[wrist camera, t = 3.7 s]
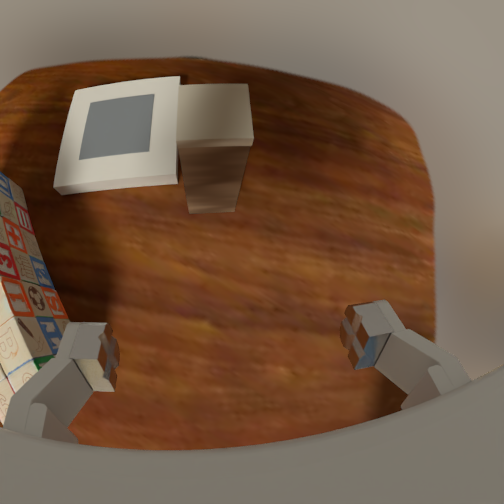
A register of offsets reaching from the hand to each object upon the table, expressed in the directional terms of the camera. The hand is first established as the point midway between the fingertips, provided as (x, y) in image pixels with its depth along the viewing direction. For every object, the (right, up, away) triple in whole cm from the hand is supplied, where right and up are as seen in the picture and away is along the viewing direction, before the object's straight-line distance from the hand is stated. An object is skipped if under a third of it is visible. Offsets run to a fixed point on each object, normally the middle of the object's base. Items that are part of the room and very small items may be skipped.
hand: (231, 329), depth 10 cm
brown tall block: (-3, +8, +17) cm, 19 cm away
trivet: (-12, +14, +17) cm, 26 cm away
